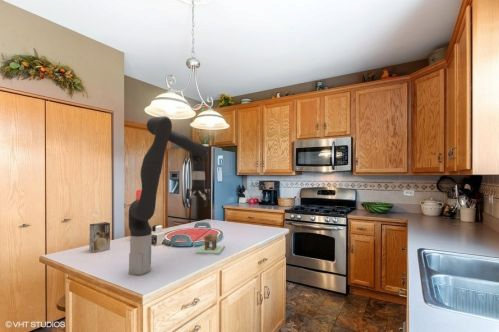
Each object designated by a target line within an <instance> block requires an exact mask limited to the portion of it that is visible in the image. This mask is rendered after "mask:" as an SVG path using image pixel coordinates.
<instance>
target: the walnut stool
mask: <svg viewBox="0 0 499 332" xmlns="http://www.w3.org/2000/svg"><path fill="white" fill-rule="evenodd" d="M217 239H218V233H217V234H215V233H206V234H205V235H204V245H205V250H207V248H209V245H210V242H211V245H212V250H215V248H216V246H217V241H218V240H217Z"/></svg>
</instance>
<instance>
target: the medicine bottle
mask: <svg viewBox="0 0 499 332" xmlns="http://www.w3.org/2000/svg"><path fill="white" fill-rule="evenodd" d="M151 229H152V237H151V246H154V247H155V246H156V247H157V246H160V245H163V244H162V242H163V240H164V239H165V240H166V232H164V231H163V225H161V224H155V225H153V226H152V227H151Z"/></svg>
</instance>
